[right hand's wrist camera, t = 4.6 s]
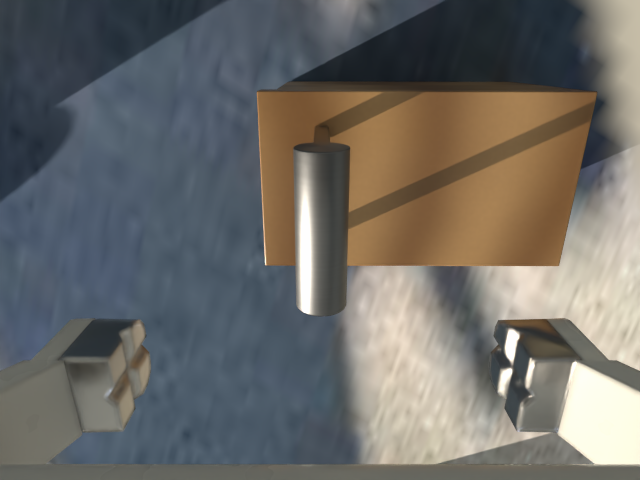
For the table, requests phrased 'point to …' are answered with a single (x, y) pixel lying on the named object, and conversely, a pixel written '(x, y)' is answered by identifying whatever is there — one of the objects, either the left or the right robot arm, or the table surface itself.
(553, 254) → the lid
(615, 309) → the table surface
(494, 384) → the right robot arm
